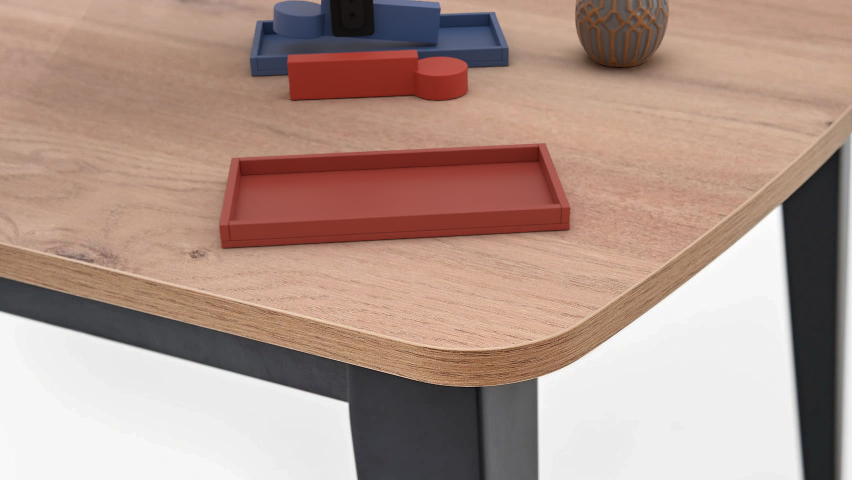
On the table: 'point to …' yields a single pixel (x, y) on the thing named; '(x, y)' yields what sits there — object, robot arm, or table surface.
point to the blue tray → (389, 44)
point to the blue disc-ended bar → (392, 20)
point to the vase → (621, 29)
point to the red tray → (391, 195)
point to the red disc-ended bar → (375, 75)
